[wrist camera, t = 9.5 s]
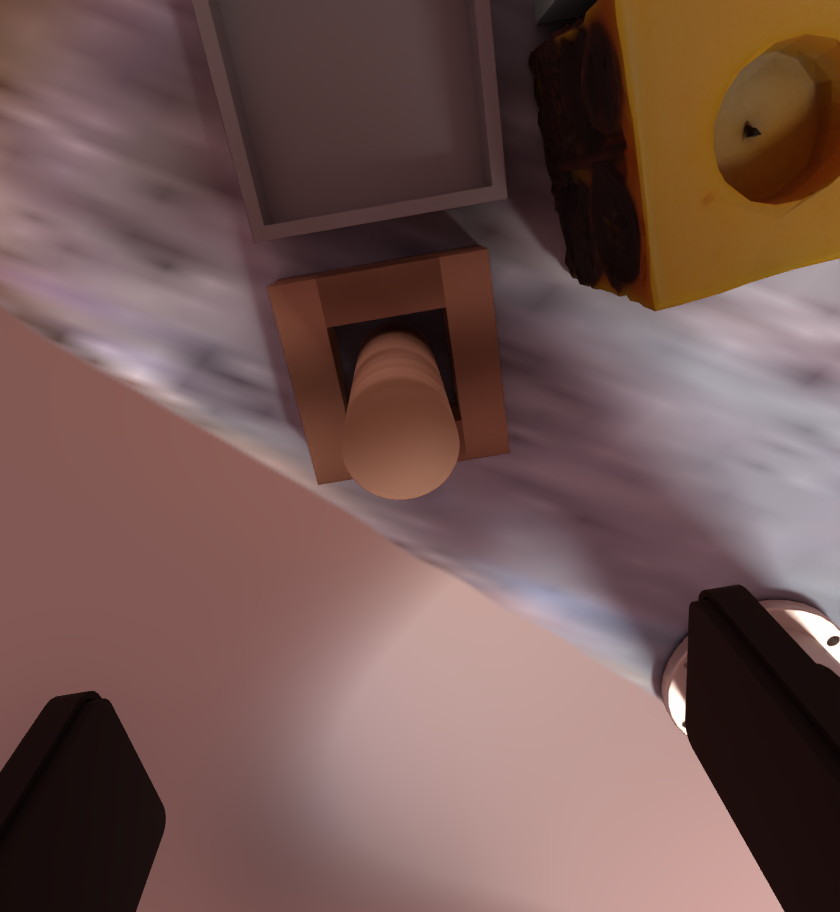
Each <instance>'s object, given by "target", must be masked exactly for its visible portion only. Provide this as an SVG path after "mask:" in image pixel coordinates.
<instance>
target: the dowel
mask: <svg viewBox="0 0 840 912" xmlns="http://www.w3.org/2000/svg"><path fill="white" fill-rule="evenodd" d="M459 447H460V442H459V434H458V430H457V427H456V424H455V420H454V417H453V414H452V411H451V408H450V404H449V401H448V398H447V395H446V392H445V388H444V385H443V382H442V379H441V376H440V373H439V369H438V366H437V363H436V360H435V357H434V353H433V350H432V347H431V345H430V343H429V341H428V339H427V338H426V336H425V335H424V334H423V333H422V332H421V331H420V330H418V329H417V328H415V327H413V326H411V325H409V324H406V323H401V322H391V323H386V324H382V325H380V326H378V327H376V328H374V329H373V330H372V331H371V332H369V333H368V334H367V336H366V337H365V338H364V340H363V341H362V343H361V346H360V348H359V352H358V357H357V362H356V368H355V373H354V378H353V383H352V388H351V393H350V398H349V403H348V408H347V413H346V419H345V424H344V429H343V434H342V441H341V451H342V457H343V460H344V464H345V466H346V468H347V470H348V472H349V473H350V475H351V476H352V478H353V479H354V480H355V481H356V482H357V483H358V484H359V485H360V486H361V487H363V488H364V489H366V490H367V491H369V492H371V493H372V494H374V495H377V496H380V497H383V498H387V499H394V500H406V499H413V498H417V497H420V496H423V495H425V494H428V493H430V492H431V491H433V490H435V489H436V488H438V487H439V486H440V485H441V484H442V483H443V482H444V481H445V480H446V479H447V478H448V477H449V475H450V474H451V472H452V471H453V469H454V467H455V465H456V462H457V459H458V455H459Z"/></svg>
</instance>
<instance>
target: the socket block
mask: <svg viewBox="0 0 840 912" xmlns="http://www.w3.org/2000/svg"><path fill="white" fill-rule="evenodd" d="M267 289H268V293H269V297H270V301H271V305H272V308H273V312H274V316H275V320H276V324H277V328H278V332H279V335H280V339H281V343H282V347H283V351H284V355H285V359H286V363H287V366H288V370H289V374H290V378H291V382H292V386H293V390H294V394H295V397H296V401H297V405H298V409H299V413H300V417H301V421H302V425H303V428H304V432H305V436H306V440H307V444H308V448H309V452H310V456H311V459H312V463H313V467H314V471H315V475H316V479H317V483H318V485H320V484H326V483H332V482H338V481H344V480H350V479H353V478H352V476H351V475H350V473H349V472H348V470H347V468H346V466H345V464H344V460H343V457H342V451H341V441H342V434H343V429H344V424H345V419H346V413H347V408H348V403H349V398H350V396H349V391H348V387H347V382H346V378H345V373H344V369H343V364H342V359H341V355H340V350H339V346H338V341H337V337H336V332H335V327H334V326H340V325H346V324H351V323H357V322H363V321H369V320H375V319H381V318H386V317H392V316H398V315H404V314H410V313H416V312H421V311H427V310H433V309H439V308H442V311H443V318H444V325H445V332H446V339H447V346H448V353H449V360H450V367H451V374H452V381H453V388H454V395H455V402H449V404H450V408H451V411H452V414H453V417H454V420H455V424H456V427H457V430H458V434H459V442H460V447H459V455H458V459H457V462H458V461H464V460H470V459H476V458H482V457H488V456H494V455H500V454H506V453H510V451H509V442H508V432H507V423H506V413H505V404H504V394H503V385H502V376H501V366H500V357H499V347H498V338H497V328H496V319H495V309H494V300H493V291H492V281H491V272H490V262H489V253H488V249H487V248H485V247H482V246H480V245H475V246H469V247H463V248H457V249H451V250H446V251H440V252H434V253H428V254H423V255H417V256H411V257H405V258H399V259H394V260H388V261H382V262H376V263H371V264H365V265H359V266H353V267H347V268H342V269H336V270H330V271H324V272H319V273H313V274H307V275H301V276H295V277H290V278H284V279H278V280H277V281H276V282H274V283H273V284H271V285H270V286H268V287H267Z"/></svg>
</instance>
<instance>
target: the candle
mask: <svg viewBox="0 0 840 912" xmlns="http://www.w3.org/2000/svg"><path fill="white" fill-rule="evenodd" d="M528 66H529V68H530V69H531V71H532V72H533V74H534V76H535V79H534V95H535V98H536V101H537V106H538V109H539V111H538V124H539V127H540V130H541V134H542V137H543V142H544V151H545V159H546V164H547V168H548V172H549V175H550V178H551V180H552V187H551V192H552V194H553V196H554V198H555V210H556V211H557V212H558V214H559V219H560V223H561V228H562V232H563V236H564V239H565V244H566V257H565V264H566V265H567V267H568V269H569V271H570V274H571V276H572V278H576V279H578V281H579V283H580V284H581V285H585V286H591V287H592V288H594V289H601V290H605V291H608V292H612V293H614V294H616V295H618V296H625V295H627V297H628V298H629V299H630V301H634V302H639V303H640V304H641V305H643V306H644V307H646V308H649V309H651V310H653V311H658V310H662V309H666V308H670V307H674V306H678V305H682V304H685V303H689V302H692V301H695V300H699V299H702V298H706V297H709V296H713V295H716V294H720V293H723V292H726V291H728V290H731V289H734V288H737V287H740V286H742V285H745V284H748V283H751V282H754V281H757V280H760V279H764V278H767V277H770V276H773V275H777V274H780V273H783V272H787V271H790V270H793V269H797V268H801V267H806V266H810V265H814V264H818V263H822V262H826V261H831V260H835V259H839V258H840V0H597V2H596V3H595V4H594V5H593V6H592V7H591V8H590V9H589V10H588V11H587V12H586V15H585V17H582V18H580V19H578V20H577V21H576V22H575V23H574V24H573V25H570V24H566V26H565V27H564V28H563V29H562V30H558V31H556V32H554V33H553V34H552V35H551V36H550V38H549V39H548V41H546V42H545V43H543V44H541V45H540V46H539V47H537V48H536V49H535V50H534V51H532V52H531V54H530V58H529V62H528Z"/></svg>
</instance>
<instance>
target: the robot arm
mask: <svg viewBox="0 0 840 912" xmlns="http://www.w3.org/2000/svg"><path fill="white" fill-rule="evenodd" d="M661 690H662V699H663V702H664V705H665V707H666V710H667V712H668V714H669V715H670V717H671V718H672V720H673V722H674V724H675V725H676V726H677V727H678V728H679V729H680V730H681V731H682V732H683V733H684V734H685V735H686V736H688V739H689V742H690V744H691V746H692V748H693V750H694V752H695V754H696V755H697V757H698V759H699V761H700V762H701V764H702V766H703V768H704V769H705V771H706V773H707V775H708V776H709V778H710V780H711V782H712V784H713V786H714V787H715V789H716V791H717V793H718V794H719V796H720V798H721V800H722V802H723V803H724V805H725V807H726V809H727V810H728V812H729V814H730V816H731V818H732V819H733V821H734V823H735V824H736V826H737V828H738V830H739V832H740V834H741V835H742V837H743V838H744V841H745V842H746V844H747V846H748V847H749V849H750V851H751V853H752V855H753V857H754V858H755V860H756V862H757V864H758V865H759V867H760V869H761V871H762V872H763V874H764V876H765V878H766V880H767V881H768V883H769V885H770V887H771V889H772V890H773V892H774V894H775V896H776V897H777V899H778V901H779V903H780V904H781V906H782V908H783V910H784V911H785V912H840V629H839V628H838V627H837V626H836V625H835V624H834V623H833V622H832V621H831V620H830V619H829V618H828V617H827V616H826V615H824V614H823V613H822V612H820V611H819V610H818V609H815V608H813V607H811V606H809V605H806V604H804V603H799V602H794V601H790V600H765V601H757V600H756V598H755V597H754V596H753V595H752V594H751V593H750V592H749V591H748V590H747V589H746V588H744V587H743V586H741V585H733V586H727V587H720V588H714V589H708V590H703V591H701V593H700V594H699V599H698V601H694V602H691V604H690V606H689V624H688V636H687V637H686V638H685V639H684V640H683V641H682V643H681V644H680V645H679V646H678V647H677V648H676V650H675V651H674V653H673V654H672V656H671V658H670V659H669V661H668V663H667V666H666V668H665V671H664V674H663V679H662V686H661ZM165 822H166V815H165V809H164V806H163V804H162V802H161V800H160V798H159V796H158V794H157V792H156V790H155V788H154V786H153V784H152V782H151V780H150V779H149V777H148V774H147V772H146V770H145V769H144V767H143V765H142V763H141V761H140V759H139V757H138V755H137V753H136V751H135V749H134V747H133V745H132V743H131V741H130V739H129V737H128V735H127V733H126V731H125V729H124V727H123V725H122V724H121V722H120V720H119V718H118V716H117V714H116V712H115V710H114V708H113V706H112V704H111V703H110V701H109V700H107V699H102V698H101V697H100V696H99V694H98V693H96V692H94V691H88V692H81V693H75V694H70V695H63V696H57V697H54V698H53V699H51V700H50V701H49V702H48V703H47V704H46V705H45V707H44V708H43V710H42V711H41V713H40V714H39V716H38V717H37V719H36V720H35V722H34V723H33V725H32V726H31V728H30V729H29V731H28V732H27V733H26V735H25V736H24V738H23V739H22V741H21V742H20V744H19V745H18V747H17V748H16V750H15V751H14V753H13V754H12V756H11V757H10V759H9V760H8V761H7V763H6V764H5V766H4V768H3V769H2V771H1V772H0V912H136V910H137V906H138V904H139V901H140V898H141V895H142V893H143V890H144V887H145V884H146V881H147V878H148V876H149V873H150V870H151V867H152V864H153V861H154V859H155V856H156V853H157V850H158V847H159V844H160V841H161V839H162V836H163V832H164V829H165Z"/></svg>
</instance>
